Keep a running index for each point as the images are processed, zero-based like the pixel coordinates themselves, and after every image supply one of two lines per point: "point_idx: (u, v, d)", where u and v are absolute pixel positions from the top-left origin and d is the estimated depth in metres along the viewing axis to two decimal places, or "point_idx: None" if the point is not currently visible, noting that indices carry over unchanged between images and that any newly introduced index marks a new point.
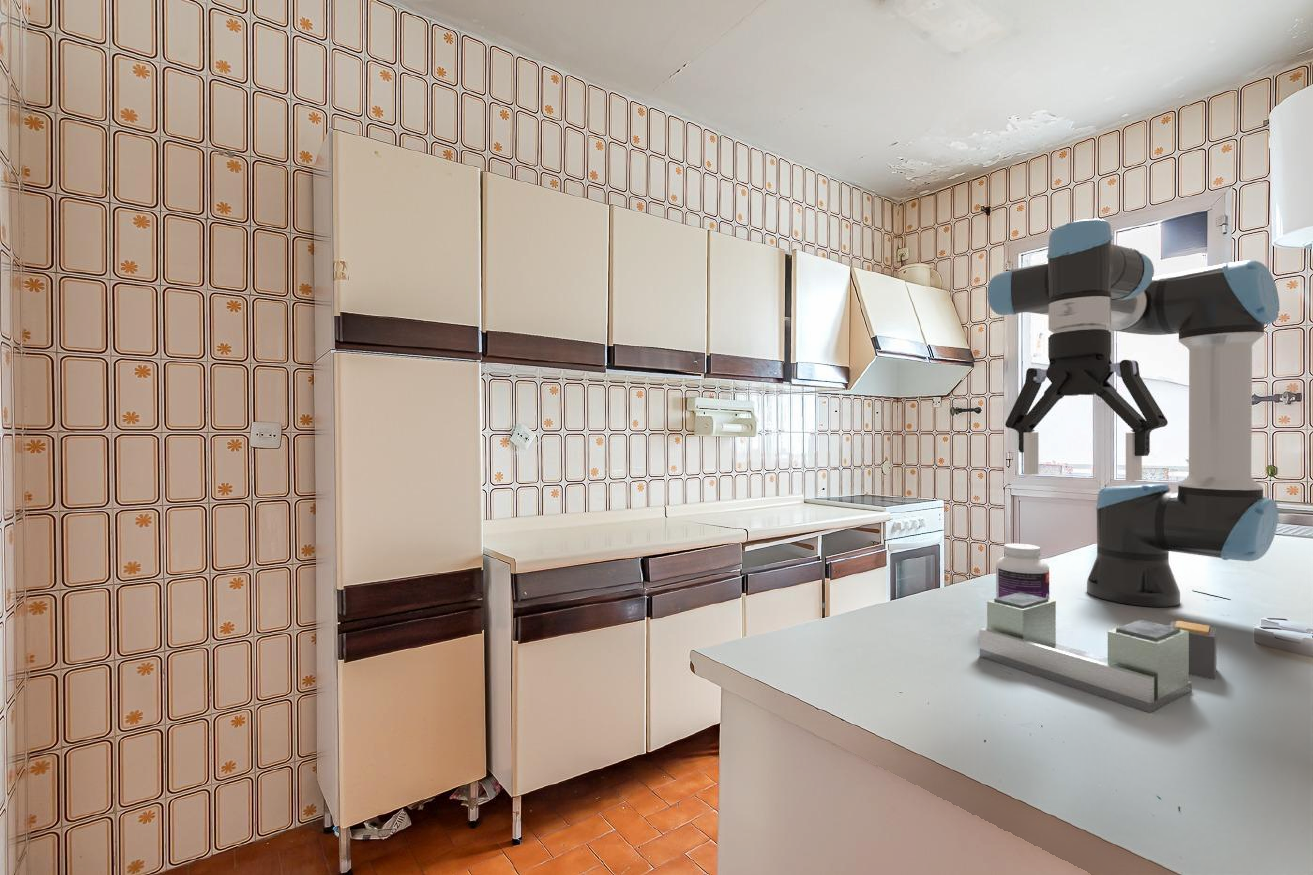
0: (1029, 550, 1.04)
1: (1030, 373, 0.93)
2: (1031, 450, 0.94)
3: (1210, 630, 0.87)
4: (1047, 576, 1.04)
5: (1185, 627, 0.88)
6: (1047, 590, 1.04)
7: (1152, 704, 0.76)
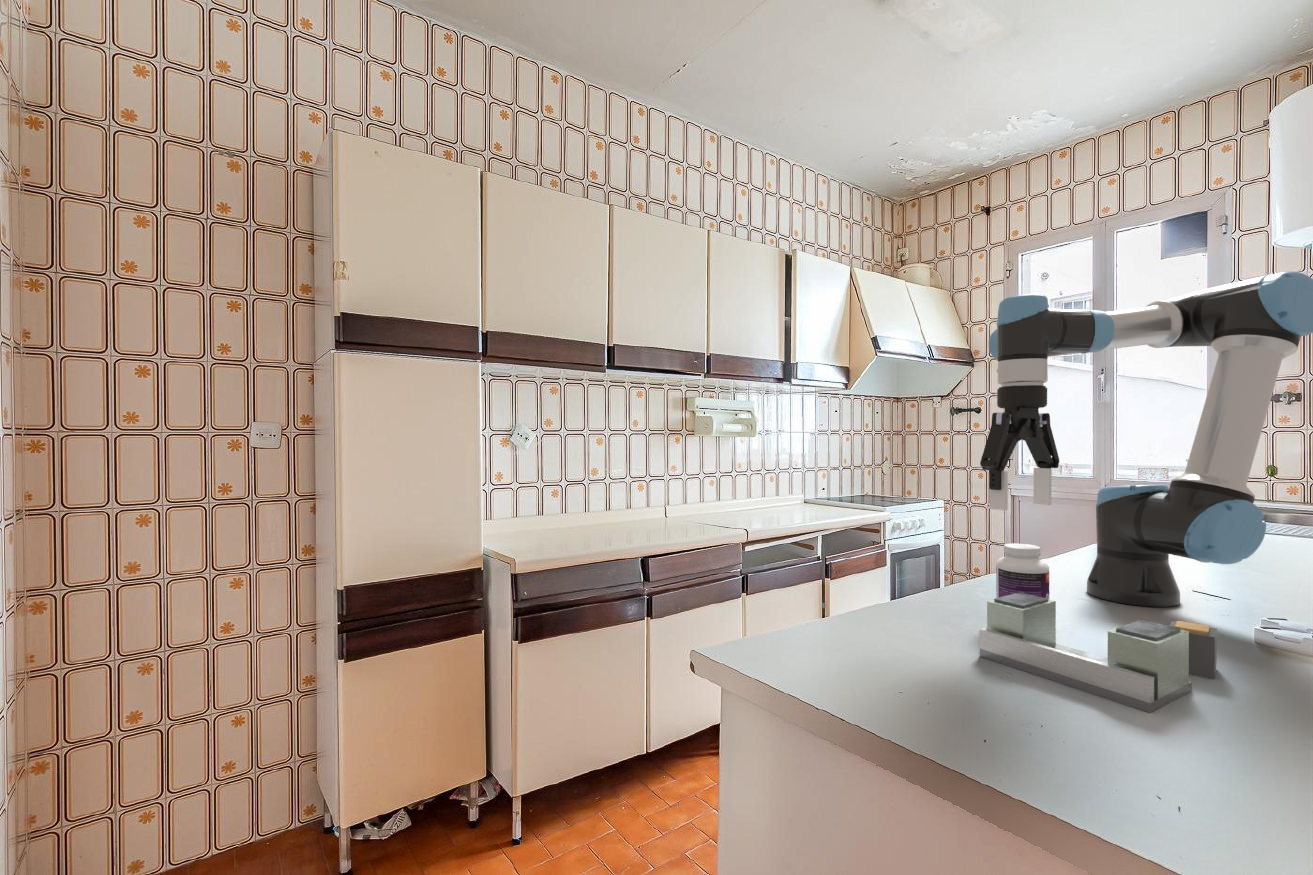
0: (1029, 550, 1.04)
1: None
2: (1037, 482, 1.11)
3: (1210, 630, 0.87)
4: (1047, 576, 1.04)
5: (1185, 627, 0.88)
6: (1047, 590, 1.04)
7: (1152, 704, 0.76)
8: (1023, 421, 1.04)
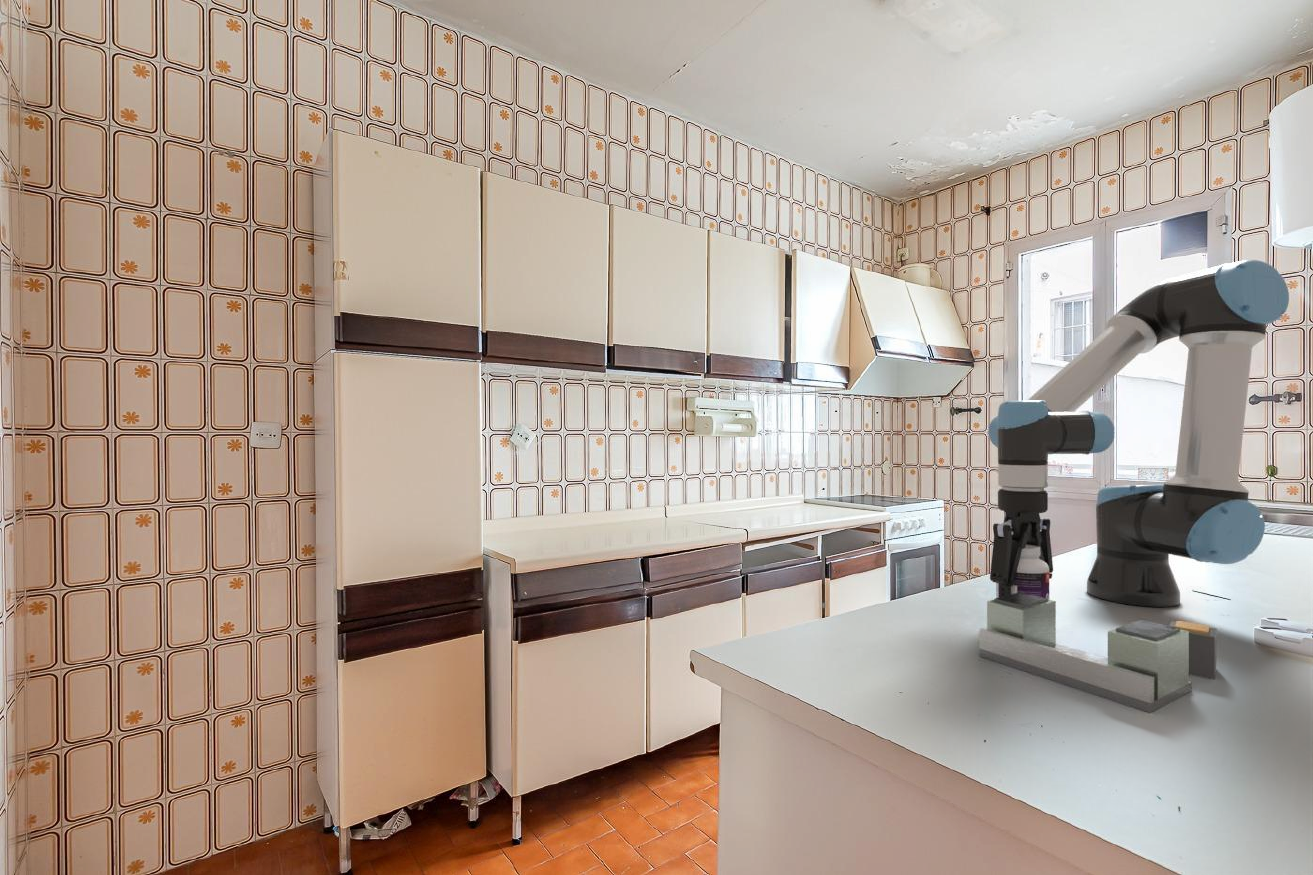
0: (1029, 550, 1.04)
1: None
2: None
3: (1210, 630, 0.88)
4: (1047, 576, 1.04)
5: (1185, 627, 0.88)
6: (1047, 590, 1.04)
7: (1152, 704, 0.76)
8: (1024, 528, 1.05)
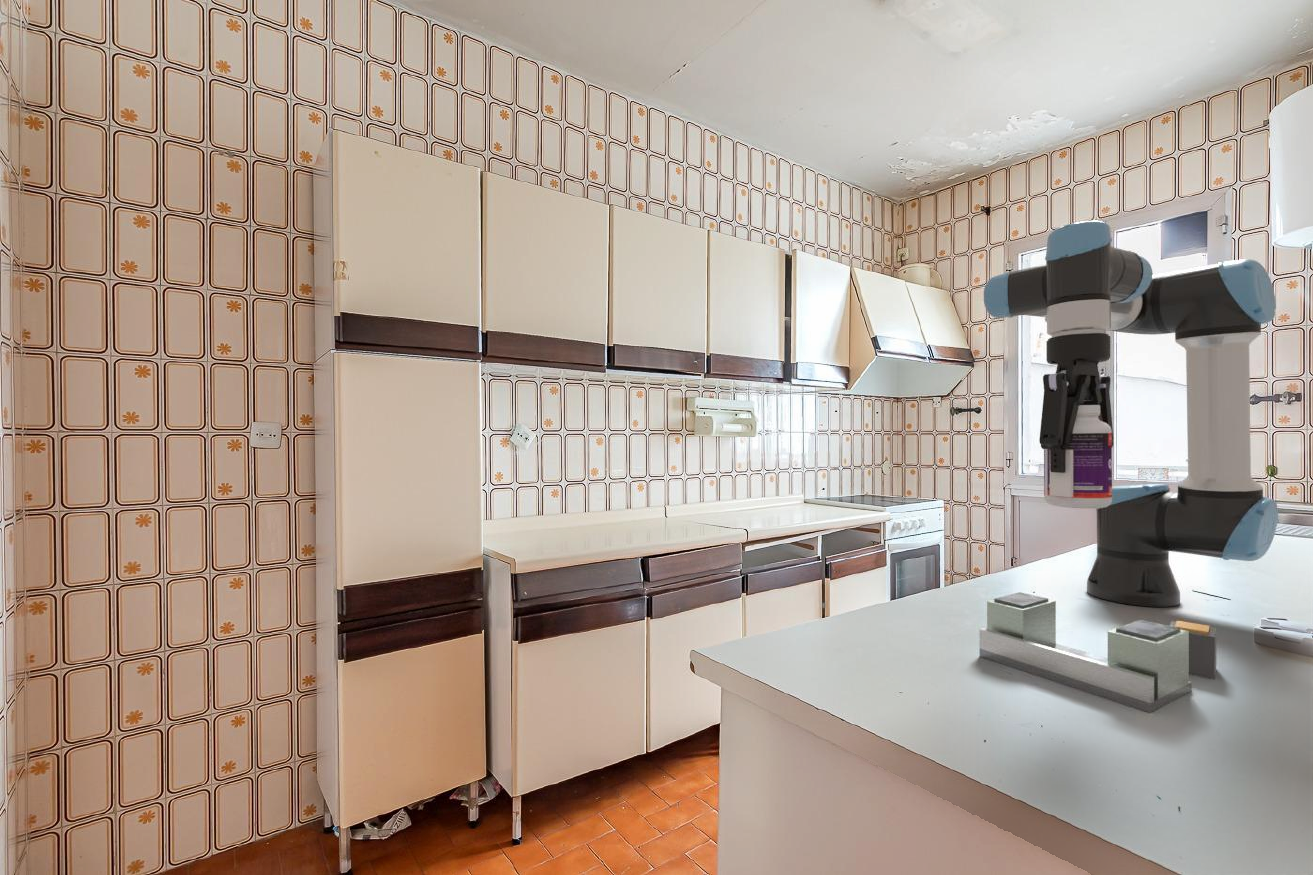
0: (1087, 406, 0.85)
1: None
2: None
3: (1210, 630, 0.87)
4: (1110, 438, 0.84)
5: (1185, 627, 0.88)
6: (1110, 455, 0.84)
7: (1152, 704, 0.76)
8: (1081, 380, 0.85)
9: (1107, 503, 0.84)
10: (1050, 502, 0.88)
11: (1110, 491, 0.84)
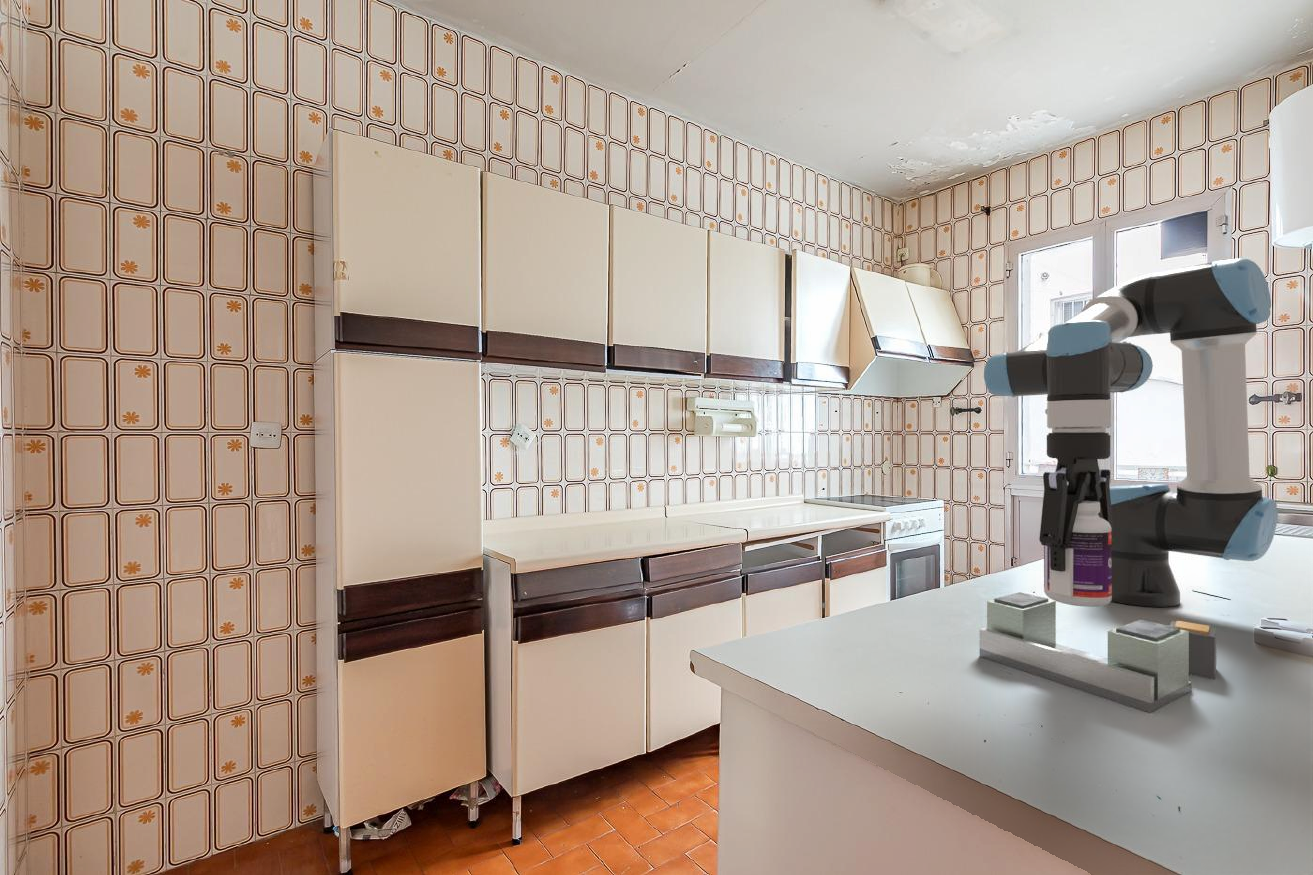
0: (1087, 505, 0.85)
1: None
2: None
3: (1210, 630, 0.88)
4: (1109, 536, 0.84)
5: (1185, 627, 0.88)
6: (1109, 554, 0.84)
7: (1152, 704, 0.76)
8: (1081, 478, 0.85)
9: (1106, 602, 0.84)
10: (1050, 597, 0.88)
11: (1110, 590, 0.84)
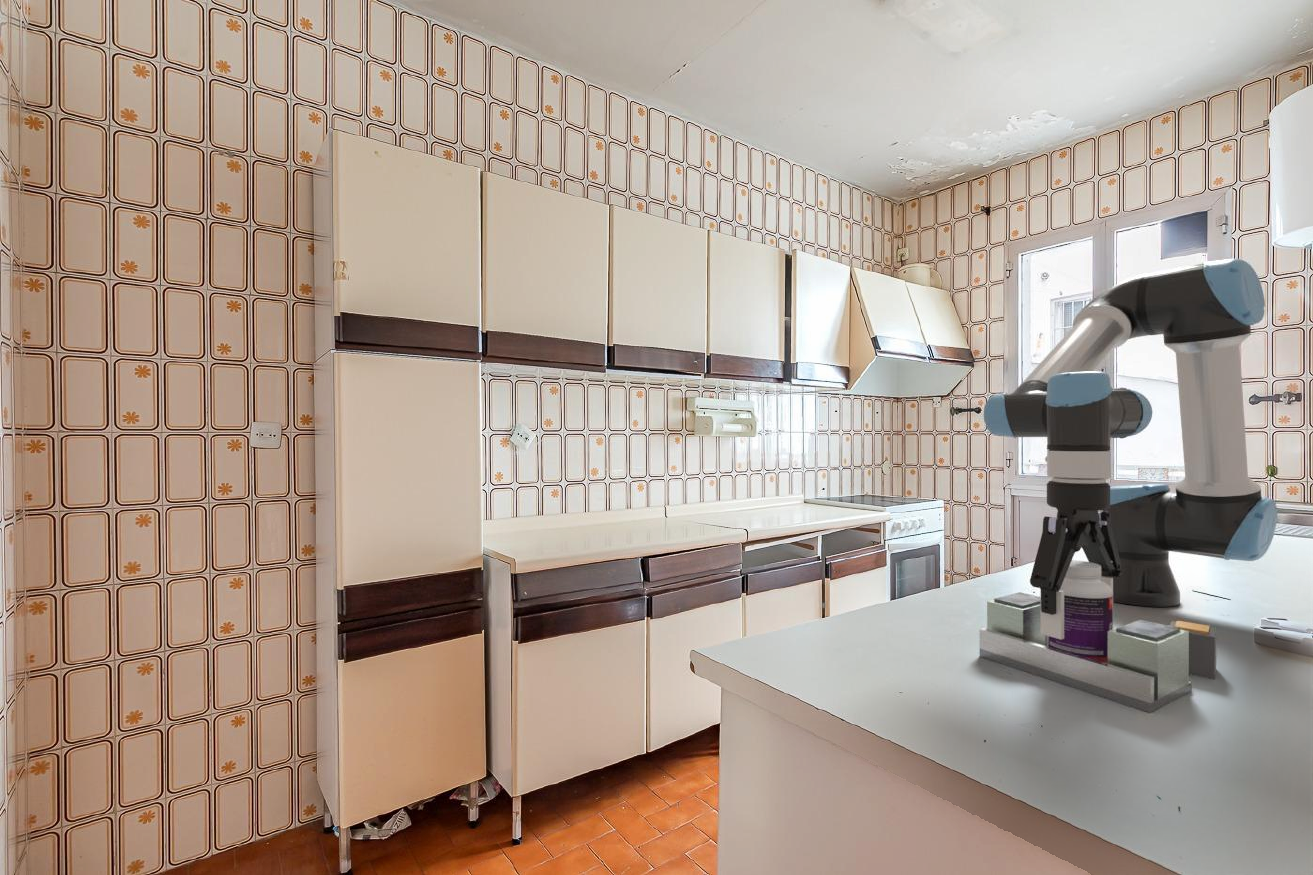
0: (1088, 569, 0.85)
1: None
2: None
3: (1210, 630, 0.88)
4: (1110, 601, 0.85)
5: (1185, 627, 0.88)
6: (1110, 618, 0.85)
7: (1152, 704, 0.76)
8: (1081, 527, 0.85)
9: None
10: None
11: None
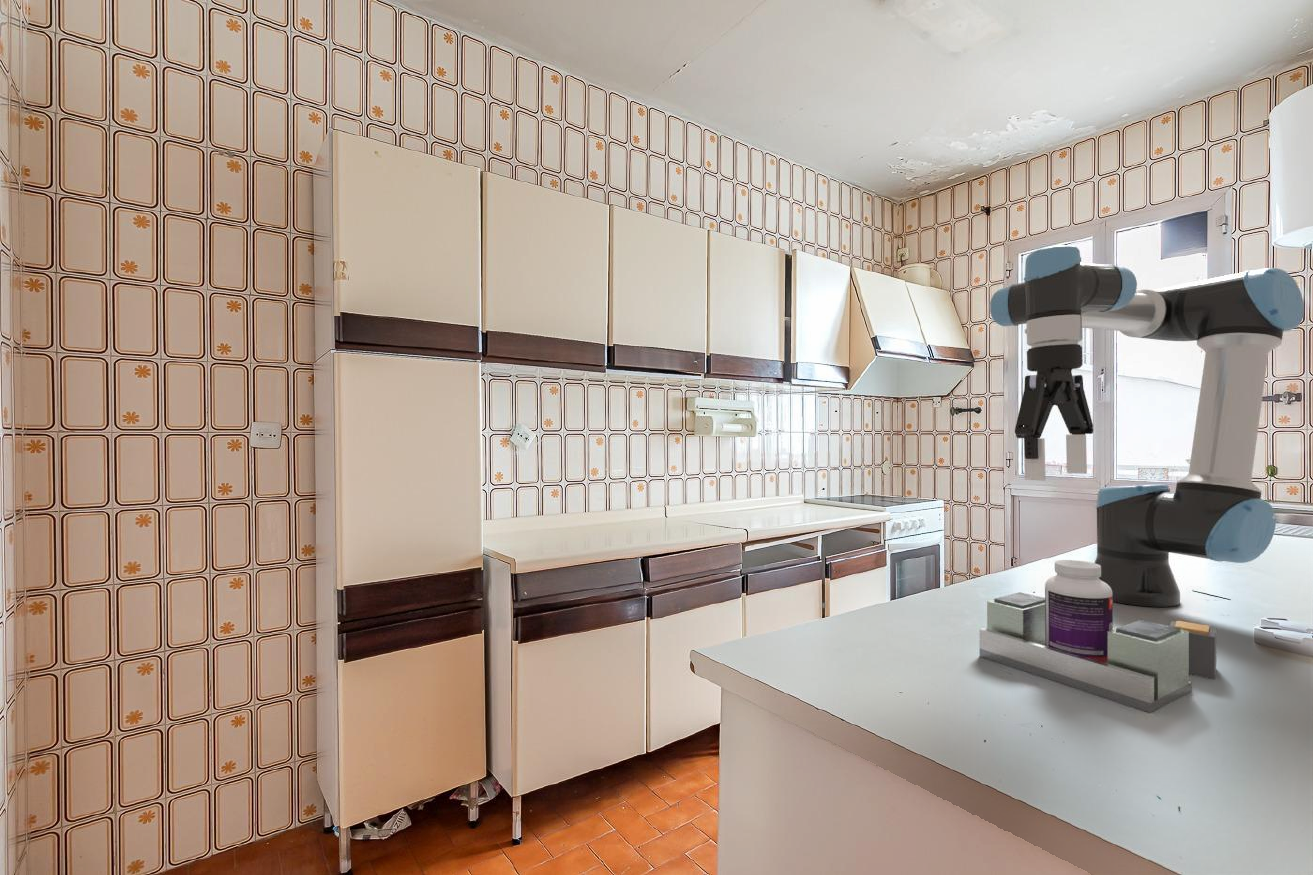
0: (1088, 569, 0.85)
1: None
2: (1071, 450, 1.03)
3: (1210, 630, 0.88)
4: (1110, 601, 0.85)
5: (1185, 627, 0.88)
6: (1110, 618, 0.85)
7: (1152, 704, 0.76)
8: (1058, 384, 0.96)
9: None
10: None
11: None
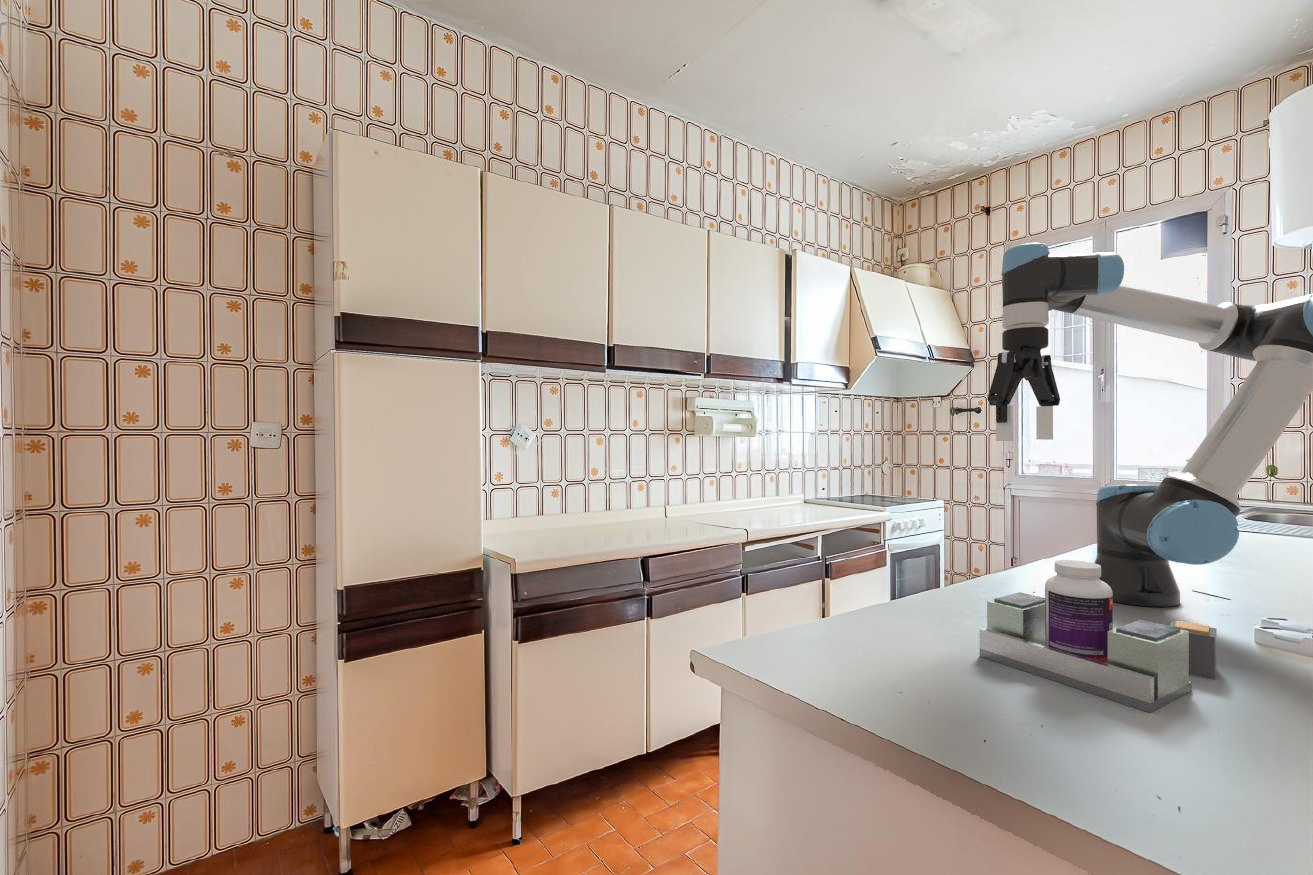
0: (1088, 569, 0.85)
1: None
2: (1040, 420, 1.20)
3: (1210, 630, 0.88)
4: (1110, 601, 0.85)
5: (1185, 627, 0.88)
6: (1110, 618, 0.85)
7: (1152, 704, 0.76)
8: (1026, 360, 1.14)
9: None
10: None
11: None
